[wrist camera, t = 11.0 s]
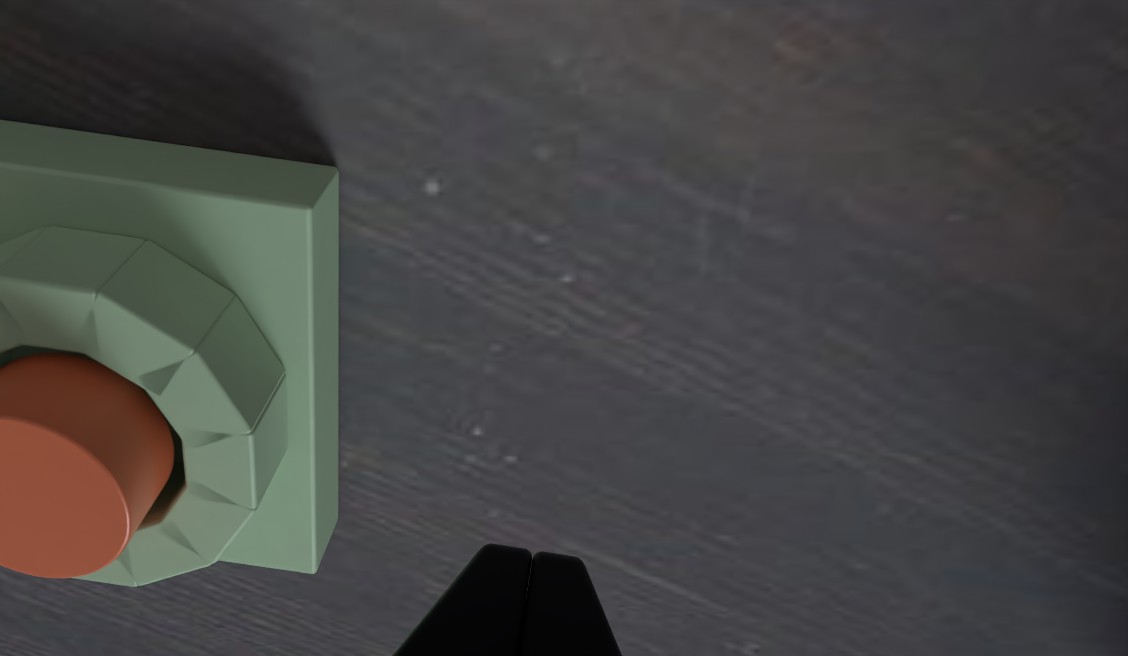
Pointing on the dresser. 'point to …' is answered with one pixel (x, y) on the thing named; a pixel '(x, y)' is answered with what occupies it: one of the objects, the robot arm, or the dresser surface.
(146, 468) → the button
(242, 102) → the dresser surface
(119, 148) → the button block
